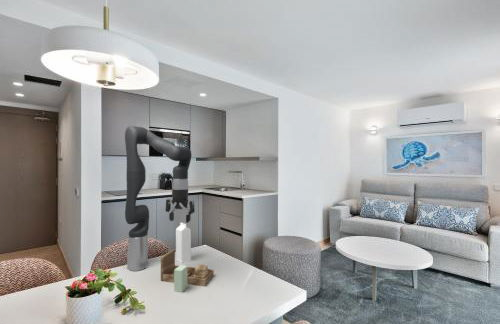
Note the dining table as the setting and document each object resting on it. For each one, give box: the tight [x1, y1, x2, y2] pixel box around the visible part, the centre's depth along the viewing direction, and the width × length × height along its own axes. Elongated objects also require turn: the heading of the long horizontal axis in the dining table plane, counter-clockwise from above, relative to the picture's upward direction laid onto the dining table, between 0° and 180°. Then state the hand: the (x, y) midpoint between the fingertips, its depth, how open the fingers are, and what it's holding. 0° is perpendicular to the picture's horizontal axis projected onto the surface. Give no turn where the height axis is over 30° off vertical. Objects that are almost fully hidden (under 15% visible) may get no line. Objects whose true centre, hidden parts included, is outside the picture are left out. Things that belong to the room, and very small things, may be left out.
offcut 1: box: [195, 264, 209, 276], centre depth 116 cm, size 4×5×3 cm
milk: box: [175, 222, 192, 264], centre depth 140 cm, size 6×6×22 cm
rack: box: [160, 249, 215, 287], centre depth 118 cm, size 22×11×12 cm, turn 76°
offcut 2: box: [194, 271, 209, 279], centre depth 116 cm, size 5×6×3 cm
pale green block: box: [173, 264, 188, 293], centre depth 108 cm, size 4×5×10 cm
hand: (179, 221), depth 120 cm, fingers open, 8 cm apart
